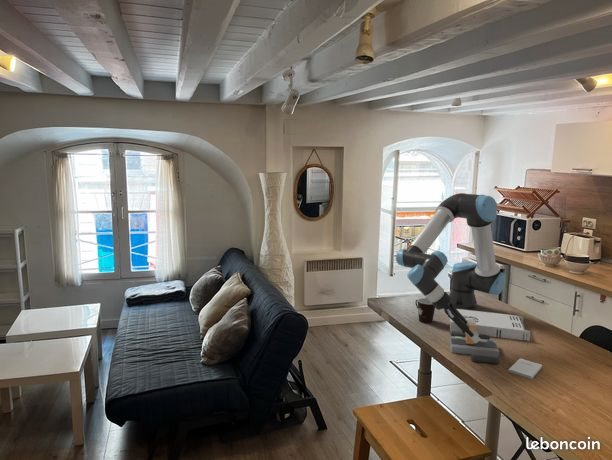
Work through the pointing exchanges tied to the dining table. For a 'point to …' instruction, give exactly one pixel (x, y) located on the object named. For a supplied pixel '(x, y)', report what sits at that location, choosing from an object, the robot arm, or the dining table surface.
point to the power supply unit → (495, 324)
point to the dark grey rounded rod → (465, 335)
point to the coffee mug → (425, 310)
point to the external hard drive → (525, 368)
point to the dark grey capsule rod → (484, 359)
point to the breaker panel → (474, 347)
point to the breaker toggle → (472, 325)
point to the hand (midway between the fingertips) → (477, 338)
